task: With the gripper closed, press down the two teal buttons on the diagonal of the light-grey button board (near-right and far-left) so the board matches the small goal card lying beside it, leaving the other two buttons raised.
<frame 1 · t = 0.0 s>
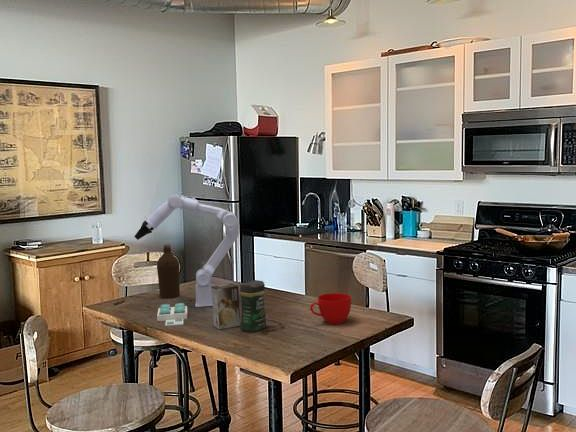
hand: (136, 237, 258), 32 cm above the table, tool tilted 50°, fingers open, 7 cm apart
ceramic cup: (330, 323, 231), on the table
button board: (172, 316, 248), on the table
button c: (165, 308, 250), point 3 cm above the table, slide at 0.0 cm
coffee jar: (254, 329, 227), on the table
button b: (179, 310, 245), point 3 cm above the table, slide at 0.0 cm
button d: (164, 311, 245), point 3 cm above the table, slide at 0.0 cm
olive oil: (170, 296, 284), on the table
button a: (179, 306, 251), point 3 cm above the table, slide at 0.0 cm
coffee box: (226, 326, 232), on the table
goal card: (174, 322, 239), on the table
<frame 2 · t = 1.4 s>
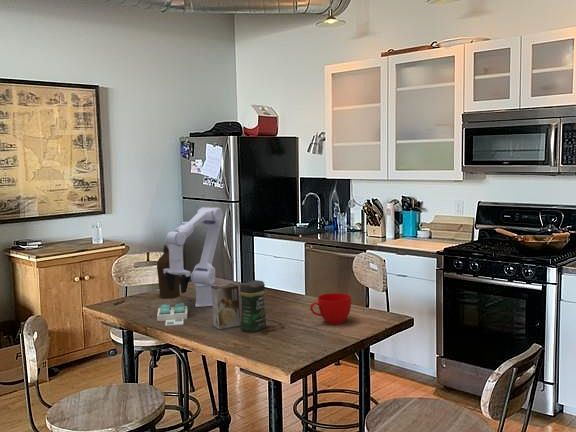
hand: (177, 291, 250), 10 cm above the table, tool pointing down, fingers open, 7 cm apart
nothing on the table moved.
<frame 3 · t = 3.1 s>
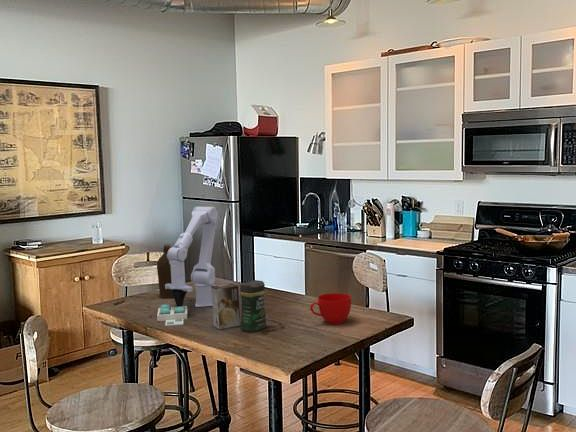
hand: (179, 306, 251), 3 cm above the table, tool pointing down, fingers closed, pressing on button a
button a: (179, 309, 251), point 2 cm above the table, slide at -1.2 cm, touching gripper
everything else where it was.
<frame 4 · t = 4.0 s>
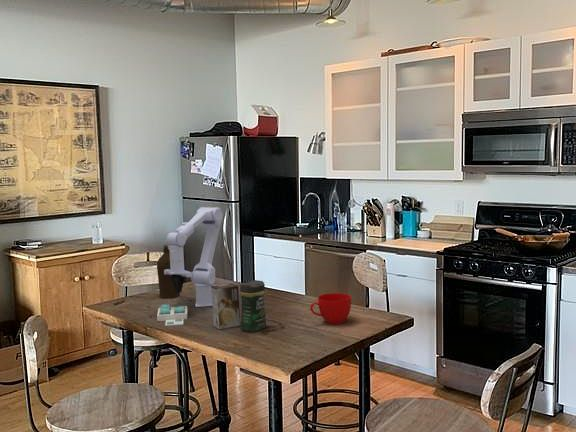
hand: (178, 292, 251), 9 cm above the table, tool pointing down, fingers closed
button a: (179, 309, 251), point 2 cm above the table, slide at -1.2 cm
everything else where it was.
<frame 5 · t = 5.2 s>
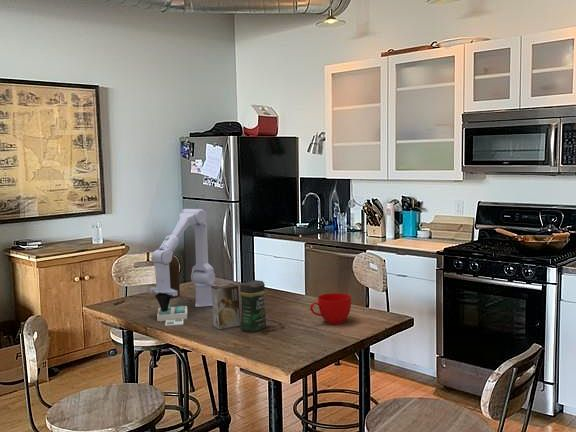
hand: (164, 311, 244), 3 cm above the table, tool pointing down, fingers closed, pressing on button d
button d: (164, 313, 245), point 2 cm above the table, slide at -1.0 cm, touching gripper
everything else where it was.
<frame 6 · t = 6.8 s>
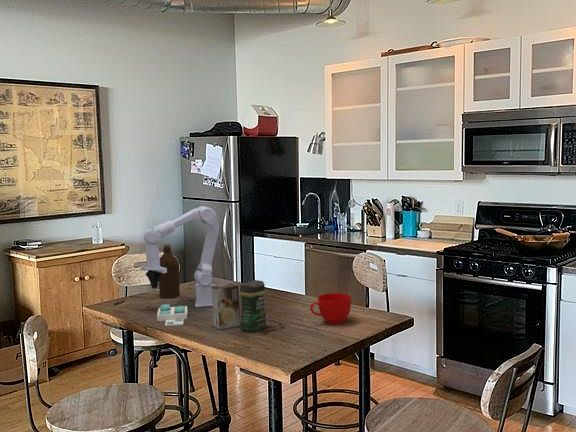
hand: (154, 287, 257), 10 cm above the table, tool pointing down, fingers closed
button d: (164, 314, 245), point 2 cm above the table, slide at -1.2 cm
everything else where it was.
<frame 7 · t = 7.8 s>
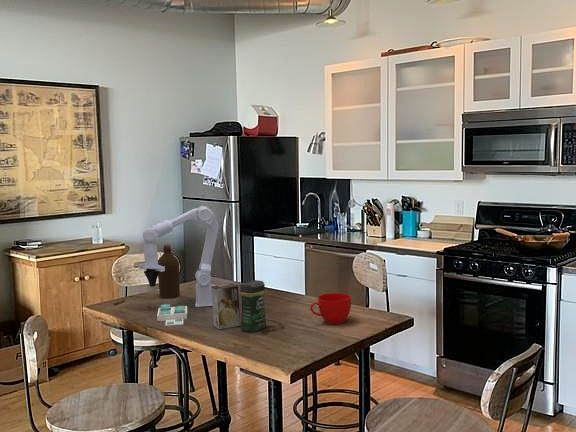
hand: (152, 286, 260), 10 cm above the table, tool pointing down, fingers closed
nothing on the table moved.
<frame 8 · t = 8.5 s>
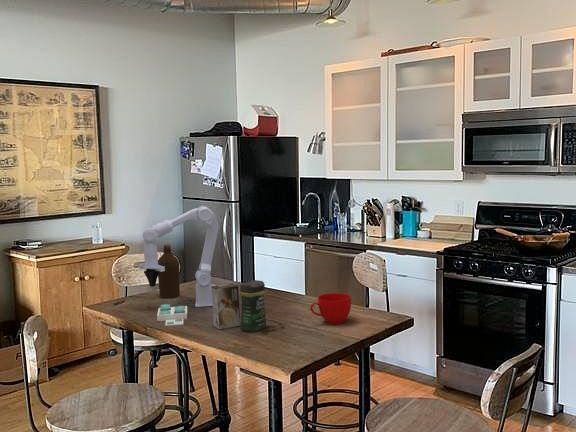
hand: (152, 286, 260), 10 cm above the table, tool pointing down, fingers closed
nothing on the table moved.
at the end: button a slide at -1.2 cm; button d slide at -1.2 cm; button b slide at 0.0 cm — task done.
